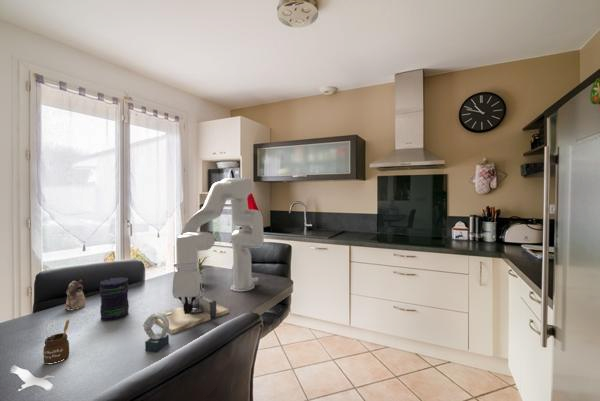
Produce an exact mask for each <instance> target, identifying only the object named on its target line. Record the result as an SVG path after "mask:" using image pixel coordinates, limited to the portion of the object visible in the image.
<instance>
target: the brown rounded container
mask: <svg viewBox="0 0 600 401" xmlns="http://www.w3.org/2000/svg"><path fill="white" fill-rule="evenodd" d="M69 323H70V318H69V319H67V320H66V321H65V325H64V328H63V332H60V333H56V328H55V326H53V325H50V327H49V324H47V325H45V326H44V329H43V331H44V334H45V337H46V338H45V339H44V344H45V345H44V346H43V350H42V351H43V353H42V354H43V363H44V364H45V363H54V362H58V361H61V360H63V359H65V358H66V357H69V355H70V342H69V339H68V334H67V333H66V332H67V330H68V327H69ZM48 327H49V328H50V330H51V331H49V329H48ZM45 329H46V330H48V331H46V330H45ZM50 332H51V334H50ZM48 333H49V334H48ZM48 335H49V336H48ZM65 360H66V359H65Z"/></svg>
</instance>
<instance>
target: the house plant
mask: <svg viewBox="0 0 600 401" xmlns="http://www.w3.org/2000/svg"><path fill="white" fill-rule="evenodd" d="M208 257H210V256H208V255H207V256H204V257H203V256H202V257H201V258H198V262H199V270H200V274H201V281H202V282H203V278H204V271H202V270H203V269H206V264H205V265H204V263H205V262H206V261H207V260H206V259H207V258H208ZM201 260H202V261H201Z"/></svg>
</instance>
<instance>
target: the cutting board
mask: <svg viewBox="0 0 600 401" xmlns="http://www.w3.org/2000/svg"><path fill="white" fill-rule="evenodd" d="M161 313H162V314H164V315H165V316H166V317H167V319H168V321H169V329H168V331H167V333H170V334H171V335H173V334H176V333H178V332H181V331H184V330H186V329H189V328H191V327H195V326H197V325H199V324H202V323H205V322H208V321H211V319H210V315H209V314H207V313H206V312H201V313H189V314H184V307H183V306H179V307H176V308H172V309H169V310H165V311H162V312H161ZM228 313H229V308H226V307H225V306H223V305H220V304H218V303H216V316H217V317H216V318H219V317H220V316H223V315H226V314H228ZM163 322H164V321H163ZM163 322H162V321H161V320H160V319H159V318H158V319H157V321H156V322H155V324H157V325H159V326H160V327H162V328H163V327H164V324H163Z"/></svg>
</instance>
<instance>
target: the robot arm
mask: <svg viewBox="0 0 600 401" xmlns="http://www.w3.org/2000/svg"><path fill="white" fill-rule="evenodd" d="M254 188H255V186H254V181H253V180H252V179H251V178H249V177H229V178H228V177H227V178H223V179H222V180H220V181H217V182H215V183H213V184H212V185H211V187H210V189H209V192H208V193H207V194H208V195H207V196H206V199H205V201H204V203H203V206H202V207H201V209H199V210H198V211H196V212H195V213H194V214H193V215H192V216H191V217H190V218H189V219H188V220H186V222H185V224H184V225H183V228H182V230H181V233H180V235H177V237H176V262H175V263H173V267H174V268H176V269H175V270H174V274H173V277H172V278H173V280H172V292H171V293H172V296H173V298H174V299H177V300H180V302H181V304H183V307H184V314H189V313H190V312H191V311H192V310H193V301H194V300H195V299H198V298H201V297H202V296H203V292H202V289H203V280H202V281H201V274H200V272H201V271H200V270H199V269H198V262H199V257H198V252H199V251H201V252H202V251H203V252H204V251H208V250H210V249H212V248H213V246H214V244H215V242H216V239H215V236H214V234H212V233H210V232H207V231H198V230H199V228H200V227H201V226H203V225H205V224H206V223H210V221H213V220H215V219H217V218H219V217H220V216H222V213H223V210H224V208H225V205H226V202H227V201H228V200H229V201H230V205H231V206H230V207H231V217H232V223H233V225H234V226H235V227H237V228H240V229H236V230H233V232H232V233H231V235H230V242H231V243H230V244H231V246H232V258H233V259H232V262H233V263H232V267H233V268H232V269H233V270H232V272H233V275H232V276H233V281H232V282H233V283H232V284H231V285H230V291H233V292H240V293H241V292H248V291H251V290H253V289H255V284H254V282H258V281H259V277H252V254H251V250H250V249H260V248H261V247H262V246H263V244H264V242H265V241H264V240H265V237H264V236H265V234H264V220H263V218H264V217H263V215H262V213H261V211H259V210H257V209H249V204H248V202H249V201H248V199H247V197H248V196H249V195H251V194H252V192H253V190H254ZM241 228H242V229H241ZM247 228H248V229H247ZM201 292H202V294H201ZM188 297H189V299H188Z"/></svg>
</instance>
